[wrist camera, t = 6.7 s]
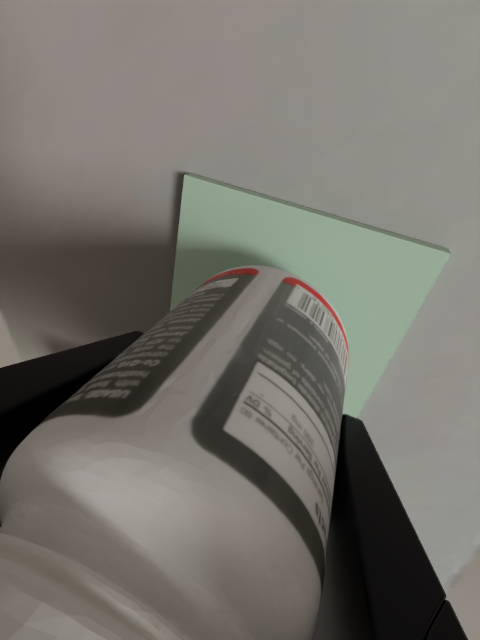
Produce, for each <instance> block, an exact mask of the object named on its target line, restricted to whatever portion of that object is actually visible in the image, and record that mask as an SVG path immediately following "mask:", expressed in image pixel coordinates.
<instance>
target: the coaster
mask: <svg viewBox="0 0 480 640" xmlns="http://www.w3.org/2000/svg"><path fill="white" fill-rule="evenodd" d="M450 255H451V253H450V251H449V249H447V248H443V247H440V246H436V245H433V244H430V243H426V242H423V241H419V240H416V239H413V238H409V237H406V236H402V235H399V234H396V233H392V232H389V231H385V230H382V229H379V228H375V227H372V226H368V225H365V224H362V223H358V222H355V221H351V220H348V219H345V218H341V217H338V216H334V215H331V214H328V213H324V212H321V211H317V210H314V209H311V208H307V207H304V206H300V205H297V204H294V203H290V202H287V201H283V200H280V199H277V198H273V197H270V196H266V195H263V194H260V193H256V192H253V191H249V190H246V189H243V188H239V187H236V186H232V185H229V184H226V183H222V182H219V181H215V180H212V179H209V178H205V177H202V176H198V175H195V174H192V173H190V174H185V175H184V181H183V191H182V200H181V209H180V219H179V228H178V237H177V247H176V256H175V265H174V275H173V284H172V294H171V303H170V311H171V310H172V309H174V308H175V307H176V306H177V305H178V304H179V303H181V302H182V301H183V300H184V299H185V298H186V297H188V296H189V295H190V294H191V293H192V292H193V291H195V289H197V288H198V287H199V286H201V285H202V284H203V283H204V282H205V281H207V280H208V279H209V278H211V277H213V276H214V275H216V274H218V273H220V272H223V271H225V270H228V269H231V268H235V267H240V266H249V265H259V266H268V267H273V268H277V269H281V270H284V271H286V272H289V273H291V274H294V275H296V276H298V277H299V278H301V279H303V280H305V281H307V282H308V283H310V284H311V285H313V286H314V287H315V288H316V289H318V290H319V291H320V292H321V293H322V294H323V295H324V296H325V297H326V298H327V299H328V300H329V301H330V303H331V304H332V305H333V307H334V308H335V310H336V311H337V313H338V315H339V317H340V319H341V321H342V323H343V326H344V328H345V331H346V335H347V340H348V347H349V366H348V372H347V381H346V388H345V395H344V404H343V413H342V415H343V414H348V415H350V416H353V417H355V418H357V417H358V415H359V414H360V412H361V410H362V408H363V407H364V405H365V403H366V401H367V400H368V398H369V396H370V394H371V393H372V391H373V389H374V387H375V386H376V384H377V382H378V380H379V379H380V377H381V375H382V373H383V372H384V370H385V368H386V366H387V365H388V363H389V361H390V360H391V358H392V356H393V354H394V353H395V351H396V349H397V347H398V346H399V344H400V342H401V340H402V339H403V337H404V335H405V333H406V332H407V330H408V328H409V326H410V325H411V323H412V321H413V319H414V318H415V316H416V314H417V312H418V311H419V309H420V307H421V305H422V304H423V302H424V300H425V299H426V297H427V295H428V293H429V292H430V290H431V288H432V286H433V285H434V283H435V281H436V279H437V278H438V276H439V274H440V272H441V271H442V269H443V267H444V265H445V264H446V262H447V260H448V258H449V257H450Z"/></svg>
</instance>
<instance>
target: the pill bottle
mask: <svg viewBox="0 0 480 640" xmlns="http://www.w3.org/2000/svg"><path fill="white" fill-rule="evenodd" d="M348 366H349V347H348V340H347V335H346V331H345V328H344V326H343V323H342V321H341V319H340V317H339V315H338V313H337V311H336V310H335V308H334V307H333V305H332V304H331V303H330V301H329V300H328V299H327V298H326V297H325V296H324V295H323V294H322V293H321V292H320V291H319V290H318V289H316V288H315V287H314V286H313V285H311V284H310V283H308V282H307V281H305V280H303V279H301V278H299V277H298V276H296V275H294V274H291V273H289V272H286V271H284V270H281V269H277V268H273V267H268V266H259V265H249V266H240V267H235V268H231V269H228V270H225V271H223V272H220V273H218V274H216V275H214V276H213V277H211V278H209V279H208V280H207V281H205V282H204V283H203V284H202V285H201V286H199V287H198V288H197V289H195V291H193V292H192V293H191V294H190V295H189V296H188V297H186V298H185V299H184V300H183V301H182V302H181V303H179V304H178V305H177V306H176V307H175V308H174V309H172V310H171V311H170V312H169V313H168V314H166V315H165V316H164V317H163V318H162V319H161V320H160V321H158V322H157V323H156V324H155V325H154V326H153V327H151V328H150V329H149V330H148V331H147V332H145V333H144V334H143V335H142V336H141V337H140V338H138V339H137V340H136V341H135V342H134V343H133V344H132V345H130V346H129V347H128V348H127V349H126V350H125V351H123V352H122V353H121V354H119V355H118V356H117V357H116V358H115V359H114V360H113V361H112V362H111V363H109V364H108V365H107V366H106V367H105V368H104V369H102V370H101V371H100V372H99V373H98V374H96V375H95V376H94V377H93V378H92V379H91V380H89V381H88V382H87V383H86V384H85V385H84V386H82V387H81V388H80V389H79V390H78V391H77V392H76V393H75V394H73V395H72V396H71V397H70V398H69V399H67V400H66V401H65V402H64V403H63V404H62V405H60V406H59V407H58V408H57V409H56V410H54V411H53V412H52V413H51V414H49V415H48V416H47V417H46V418H45V419H44V420H43V421H42V422H41V423H40V424H39V425H38V426H37V427H36V428H35V429H34V430H33V431H32V432H31V433H30V434H29V435H28V436H27V437H26V438H25V439H24V440H23V441H22V442H21V443H20V444H19V445H18V447H17V448H16V449H15V451H14V452H13V453H12V455H11V456H10V458H9V459H8V461H7V463H6V466H5V468H4V470H3V473H2V476H1V480H0V521H1V527H0V640H312V637H313V634H314V630H315V627H316V622H317V617H318V611H319V606H320V600H321V594H322V588H323V582H324V577H325V571H324V569H325V561H326V550H327V542H328V534H329V525H330V517H331V508H332V499H333V490H334V482H335V473H336V466H337V455H338V446H339V437H340V428H341V421H342V413H343V404H344V395H345V388H346V381H347V372H348Z"/></svg>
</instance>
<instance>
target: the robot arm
mask: <svg viewBox="0 0 480 640" xmlns="http://www.w3.org/2000/svg"><path fill="white" fill-rule="evenodd" d="M143 334H144V333H143V332H140V331H134V332H131V333H127V334H123V335H120V336H116V337H112V338H109V339H105V340H101V341H97V342H94V343H90V344H86V345H83V346H79V347H75V348H72V349H68V350H64V351H61V352H57V353H53V354H50V355H46V356H42V357H39V358H35V359H31V360H28V361H24V362H20V363H17V364H13V365H9V366H6V367H2V368H0V480H1V476H2V473H3V470H4V468H5V466H6V463H7V461H8V459H9V458H10V456H11V455H12V453H13V452H14V451H15V449H16V448H17V447H18V445H19V444H20V443H21V442H22V441H23V440H24V439H25V438H26V437H27V436H28V435H29V434H30V433H31V432H32V431H33V430H34V429H35V428H36V427H37V426H38V425H39V424H40V423H41V422H42V421H43V420H44V419H45V418H46V417H47V416H48V415H49V414H51V413H52V412H53V411H54V410H56V409H57V408H58V407H59V406H60V405H62V404H63V403H64V402H65V401H66V400H67V399H69V398H70V397H71V396H72V395H73V394H75V393H76V392H77V391H78V390H79V389H80V388H81V387H82V386H84V385H85V384H86V383H87V382H88V381H89V380H91V379H92V378H93V377H94V376H95V375H96V374H98V373H99V372H100V371H101V370H102V369H104V368H105V367H106V366H107V365H108V364H109V363H111V362H112V361H113V360H114V359H115V358H116V357H117V356H118V355H119V354H121V353H122V352H123V351H125V350H126V349H127V348H128V347H129V346H130V345H132V344H133V343H134V342H135V341H136V340H137V339H138V338H140V337H141V336H142V335H143ZM0 527H1V521H0ZM324 571H325V577H324V582H323V588H322V594H321V600H320V606H319V611H318V617H317V622H316V627H315V630H314V634H313V637H312V640H468V638H467V636H466V634H465V632H464V631H463V628H462V626H461V624H460V622H459V620H458V618H457V616H456V614H455V612H454V610H453V608H452V606H451V604H450V602H449V601H447V600H445V599H446V594H445V591H444V589H443V587H442V585H441V583H440V581H439V579H438V577H437V575H436V573H435V571H434V569H433V567H432V565H431V562H430V560H429V558H428V556H427V554H426V552H425V550H424V548H423V546H422V544H421V542H420V540H419V538H418V536H417V533H416V531H415V529H414V527H413V525H412V523H411V521H410V519H409V517H408V515H407V513H406V511H405V509H404V507H403V504H402V502H401V500H400V498H399V496H398V494H397V492H396V490H395V488H394V486H393V484H392V482H391V480H390V478H389V475H388V473H387V471H386V469H385V467H384V465H383V463H382V461H381V459H380V457H379V455H378V453H377V451H376V449H375V446H374V444H373V442H372V440H371V438H370V436H369V434H368V432H367V430H366V428H365V426H364V424H363V422H362V421H361V420H360V419H358V418H355V417H353V416H350V415H348V414H343V415H342V421H341V428H340V437H339V446H338V455H337V466H336V473H335V482H334V490H333V499H332V508H331V517H330V525H329V534H328V542H327V550H326V561H325V569H324Z"/></svg>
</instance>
